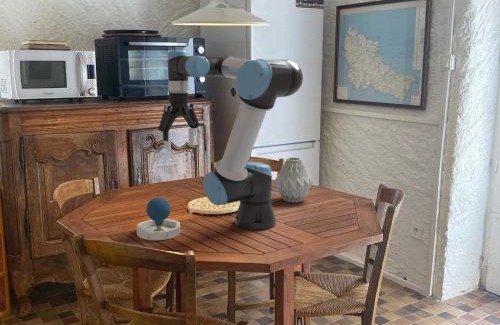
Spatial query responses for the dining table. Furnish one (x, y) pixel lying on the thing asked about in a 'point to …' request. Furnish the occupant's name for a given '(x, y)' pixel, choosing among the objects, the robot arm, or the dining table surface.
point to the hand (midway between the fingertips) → (180, 146)
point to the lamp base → (150, 231)
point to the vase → (293, 180)
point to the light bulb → (158, 211)
